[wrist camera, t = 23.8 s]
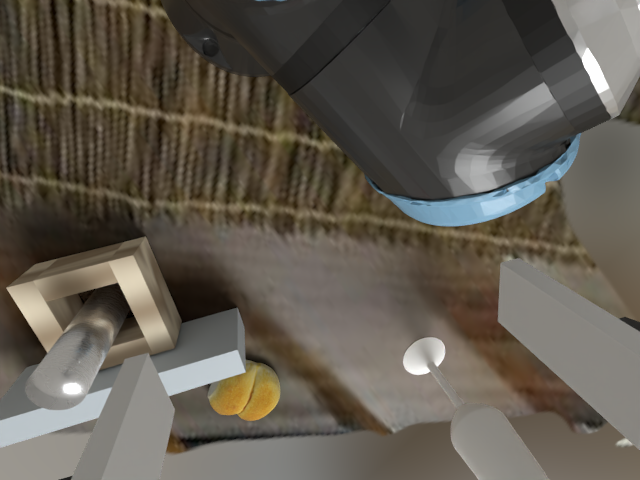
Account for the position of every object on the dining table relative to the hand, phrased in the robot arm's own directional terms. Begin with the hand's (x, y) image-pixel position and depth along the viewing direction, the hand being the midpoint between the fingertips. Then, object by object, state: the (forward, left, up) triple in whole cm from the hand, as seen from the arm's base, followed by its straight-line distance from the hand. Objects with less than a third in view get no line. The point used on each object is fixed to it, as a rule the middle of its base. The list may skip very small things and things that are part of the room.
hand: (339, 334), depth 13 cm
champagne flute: (+30, +15, -28) cm, 44 cm away
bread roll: (+26, -10, -28) cm, 39 cm away
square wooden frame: (+8, -20, -28) cm, 35 cm away
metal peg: (+8, -20, -28) cm, 35 cm away
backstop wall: (+15, -20, -28) cm, 37 cm away
